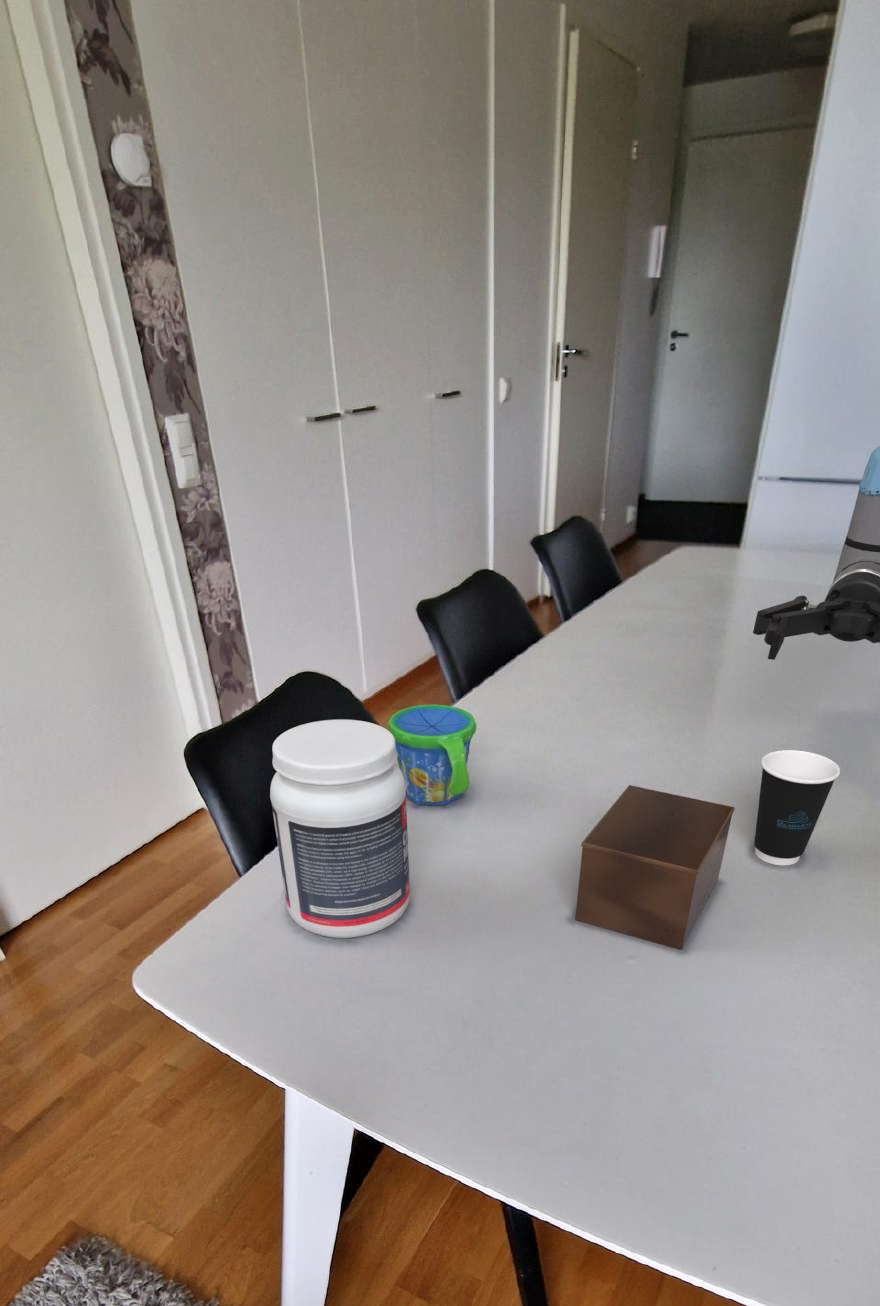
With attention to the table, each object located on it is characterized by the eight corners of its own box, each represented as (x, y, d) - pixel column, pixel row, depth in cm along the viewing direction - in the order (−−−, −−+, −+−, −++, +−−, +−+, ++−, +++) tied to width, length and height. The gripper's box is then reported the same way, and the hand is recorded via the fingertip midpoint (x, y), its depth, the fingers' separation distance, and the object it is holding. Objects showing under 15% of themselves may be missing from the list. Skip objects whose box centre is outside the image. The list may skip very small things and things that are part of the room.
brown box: (718, 881, 91) (735, 807, 86) (682, 951, 81) (698, 871, 76) (619, 857, 96) (629, 784, 90) (573, 920, 86) (581, 842, 80)
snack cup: (494, 814, 104) (496, 736, 98) (413, 829, 101) (410, 749, 95) (450, 765, 116) (450, 692, 110) (377, 776, 113) (372, 703, 107)
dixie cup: (772, 831, 100) (795, 743, 94) (829, 859, 95) (857, 769, 88) (725, 849, 97) (745, 759, 90) (781, 880, 91) (806, 787, 85)
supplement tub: (436, 907, 88) (433, 740, 77) (341, 961, 80) (323, 785, 70) (355, 863, 95) (343, 704, 84) (262, 909, 88) (234, 742, 77)
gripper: (957, 648, 103) (956, 711, 88) (747, 619, 111) (714, 672, 96) (982, 583, 98) (985, 638, 83) (761, 558, 107) (728, 604, 92)
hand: (840, 656), depth 90 cm, fingers open, 13 cm apart
